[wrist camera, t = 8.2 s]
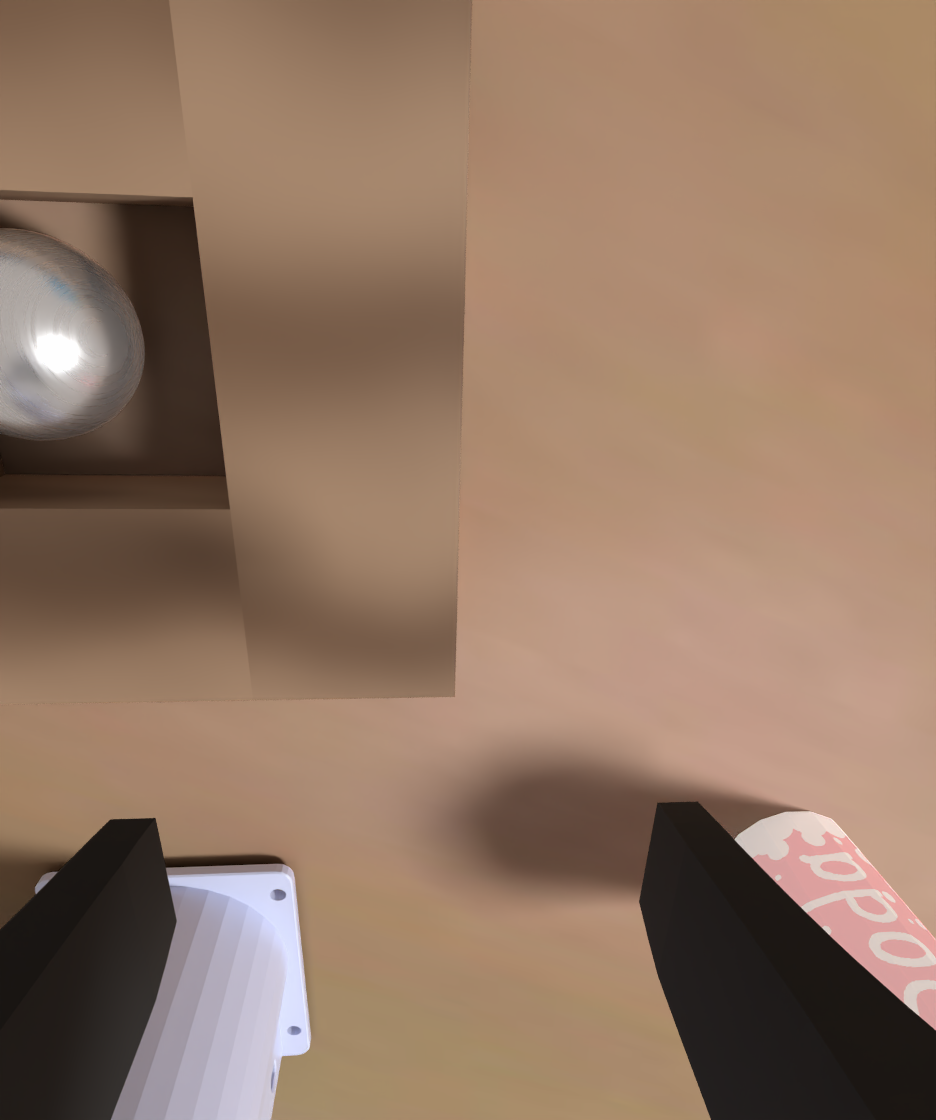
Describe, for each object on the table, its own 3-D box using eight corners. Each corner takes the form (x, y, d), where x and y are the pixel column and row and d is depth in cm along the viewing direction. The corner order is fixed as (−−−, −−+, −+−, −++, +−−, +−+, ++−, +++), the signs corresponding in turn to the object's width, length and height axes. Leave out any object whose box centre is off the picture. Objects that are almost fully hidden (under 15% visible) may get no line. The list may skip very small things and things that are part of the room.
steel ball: (113, 487, 13) (-5, 473, 15) (216, 348, 15) (100, 350, 17) (-77, 320, 10) (-198, 327, 12) (82, 170, 12) (-44, 195, 14)
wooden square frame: (450, 645, 19) (454, 696, 17) (-144, 652, 18) (-226, 708, 16) (464, -77, 13) (475, -150, 11) (-456, -142, 12) (-669, -241, 9)
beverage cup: (899, 806, 23) (1494, 1473, 10) (821, 928, 25) (1229, 1596, 13) (738, 781, 22) (1177, 1485, 9) (673, 911, 24) (953, 1616, 12)
